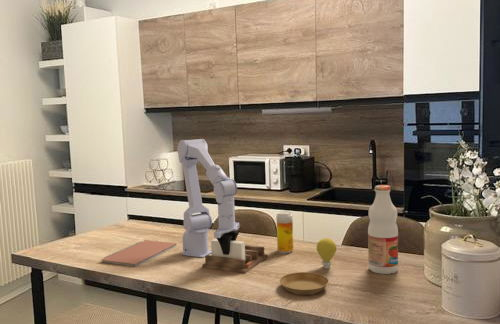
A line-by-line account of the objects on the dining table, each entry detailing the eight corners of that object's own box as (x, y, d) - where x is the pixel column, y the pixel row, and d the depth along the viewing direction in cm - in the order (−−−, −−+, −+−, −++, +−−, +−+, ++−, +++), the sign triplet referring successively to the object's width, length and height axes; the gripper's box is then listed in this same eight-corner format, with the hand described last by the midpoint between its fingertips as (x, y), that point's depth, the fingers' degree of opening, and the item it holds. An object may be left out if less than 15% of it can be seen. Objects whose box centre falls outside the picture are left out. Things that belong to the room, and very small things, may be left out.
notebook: (143, 243, 195) (143, 239, 195) (177, 247, 188) (177, 242, 188) (98, 263, 171) (98, 258, 170) (135, 268, 164) (135, 263, 163)
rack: (202, 267, 161) (201, 256, 160) (227, 252, 177) (226, 242, 176) (245, 273, 153) (245, 261, 153) (267, 257, 169) (267, 246, 169)
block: (211, 259, 162) (211, 240, 161) (215, 257, 164) (214, 238, 163) (242, 263, 156) (241, 243, 155) (245, 261, 158) (244, 241, 158)
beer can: (292, 253, 172) (291, 214, 170) (276, 253, 173) (275, 214, 172) (294, 249, 178) (293, 211, 176) (278, 248, 179) (277, 211, 177)
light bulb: (338, 264, 158) (337, 236, 157) (335, 271, 152) (334, 241, 151) (318, 263, 160) (318, 235, 159) (315, 269, 154) (314, 240, 153)
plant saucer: (288, 277, 148) (288, 269, 148) (333, 282, 143) (333, 274, 142) (273, 294, 135) (272, 286, 134) (322, 300, 129) (322, 292, 129)
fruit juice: (369, 264, 157) (368, 183, 154) (398, 266, 154) (397, 183, 152) (367, 273, 148) (366, 188, 145) (398, 275, 146) (397, 188, 143)
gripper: (226, 220, 150) (228, 260, 151) (246, 211, 163) (247, 248, 164) (207, 218, 153) (209, 258, 155) (228, 209, 166) (230, 246, 167)
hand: (228, 253), depth 160 cm, fingers closed on block, 2 cm apart
